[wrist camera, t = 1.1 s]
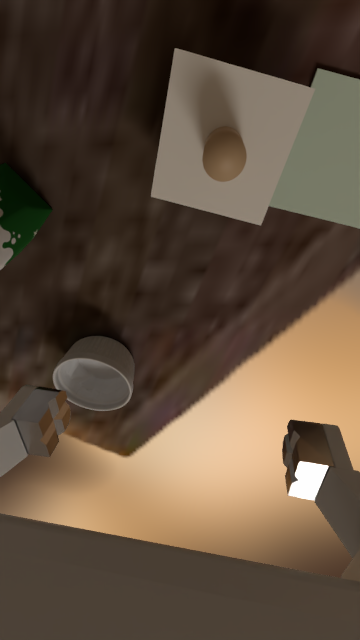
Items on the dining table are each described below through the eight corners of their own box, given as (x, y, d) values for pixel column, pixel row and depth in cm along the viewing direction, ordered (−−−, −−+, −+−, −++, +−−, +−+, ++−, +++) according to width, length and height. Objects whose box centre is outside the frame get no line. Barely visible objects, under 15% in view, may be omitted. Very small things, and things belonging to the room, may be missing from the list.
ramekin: (154, 368, 57) (147, 399, 52) (101, 389, 63) (89, 419, 57) (108, 318, 51) (94, 347, 46) (53, 345, 56) (35, 374, 51)
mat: (317, 68, 30) (318, 68, 29) (435, 100, 30) (437, 100, 30) (266, 204, 38) (266, 205, 37) (360, 227, 38) (361, 228, 38)
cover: (176, 48, 26) (167, 42, 22) (313, 88, 27) (330, 90, 22) (152, 194, 33) (142, 210, 29) (260, 222, 34) (265, 242, 30)
